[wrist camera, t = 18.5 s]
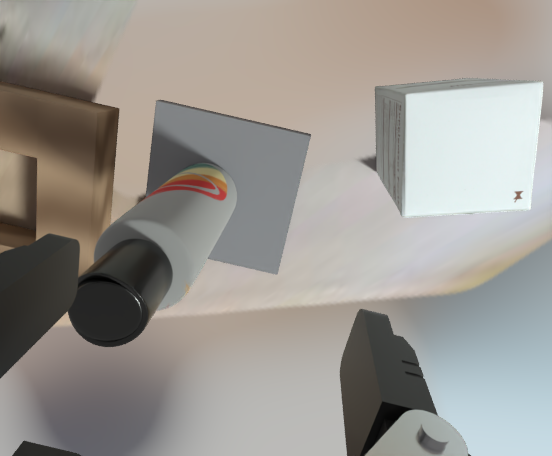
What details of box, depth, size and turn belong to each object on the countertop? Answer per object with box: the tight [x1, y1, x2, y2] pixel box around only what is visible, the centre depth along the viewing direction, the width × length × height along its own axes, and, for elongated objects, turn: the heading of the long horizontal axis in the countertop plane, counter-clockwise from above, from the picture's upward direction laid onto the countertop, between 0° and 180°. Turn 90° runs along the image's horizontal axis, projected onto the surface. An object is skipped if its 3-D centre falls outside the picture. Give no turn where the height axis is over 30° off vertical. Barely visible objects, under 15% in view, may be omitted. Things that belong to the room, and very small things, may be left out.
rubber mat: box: [146, 100, 311, 274], centre depth 38 cm, size 13×13×1 cm
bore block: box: [0, 81, 119, 277], centre depth 38 cm, size 18×18×4 cm
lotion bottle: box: [68, 163, 237, 347], centre depth 28 cm, size 6×6×20 cm
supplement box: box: [375, 78, 543, 218], centre depth 29 cm, size 7×7×13 cm
